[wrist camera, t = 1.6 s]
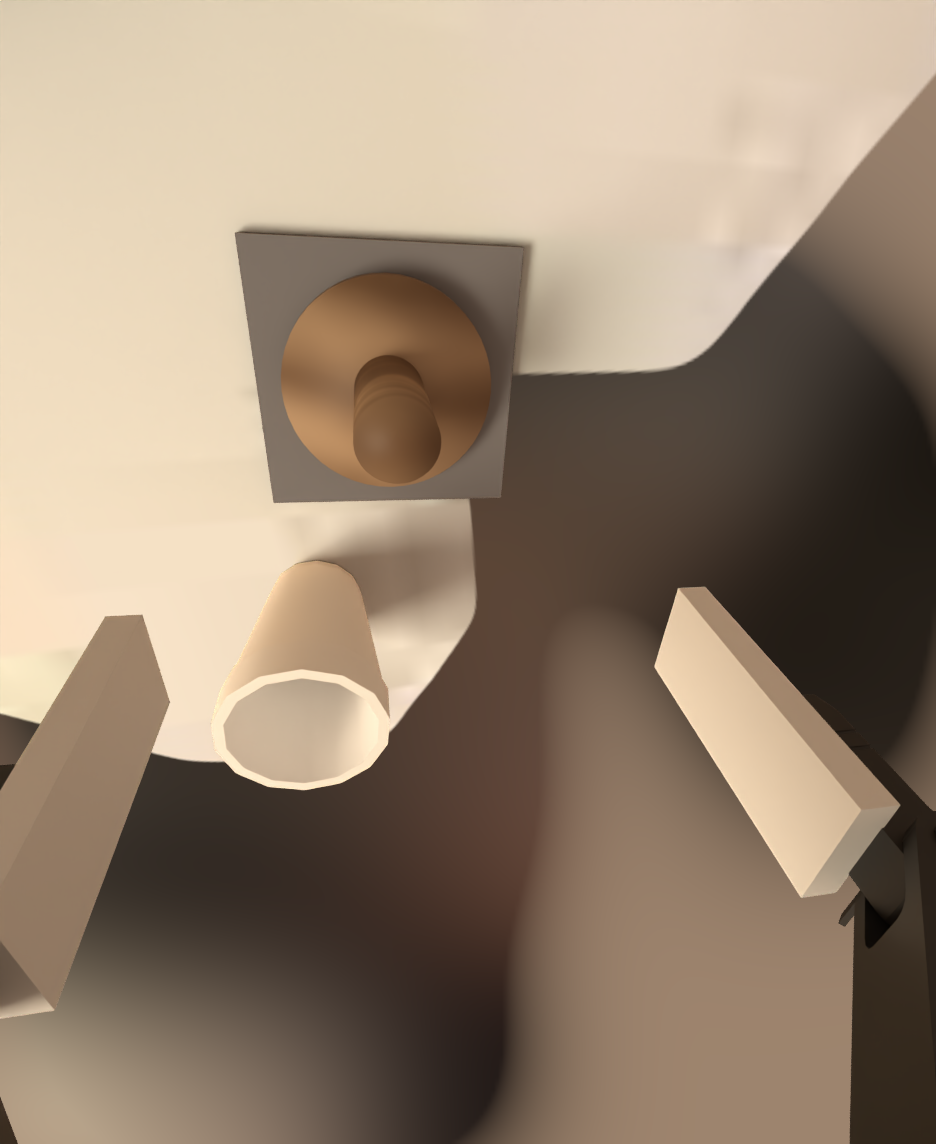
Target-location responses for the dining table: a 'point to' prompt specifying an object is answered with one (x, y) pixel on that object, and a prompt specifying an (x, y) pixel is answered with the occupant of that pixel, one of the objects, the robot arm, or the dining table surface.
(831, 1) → the dining table surface
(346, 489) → the mat
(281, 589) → the foam cup
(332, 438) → the lid
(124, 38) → the dining table surface
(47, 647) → the dining table surface
